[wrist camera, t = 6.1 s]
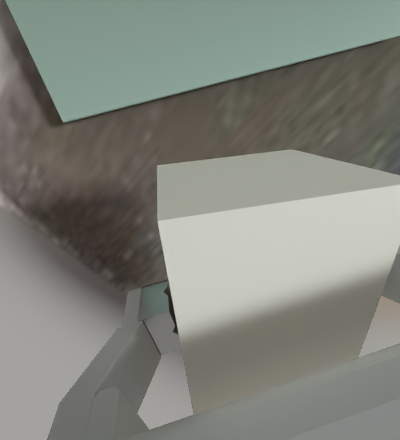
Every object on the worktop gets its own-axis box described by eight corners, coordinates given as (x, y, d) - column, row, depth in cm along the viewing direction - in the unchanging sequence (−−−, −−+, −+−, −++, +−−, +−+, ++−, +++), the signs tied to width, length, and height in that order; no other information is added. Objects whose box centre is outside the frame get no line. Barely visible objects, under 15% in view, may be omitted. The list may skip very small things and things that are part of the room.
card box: (291, 149, 9) (423, 181, 5) (277, 295, 13) (344, 393, 8) (157, 165, 8) (157, 221, 4) (181, 314, 12) (197, 434, 7)
